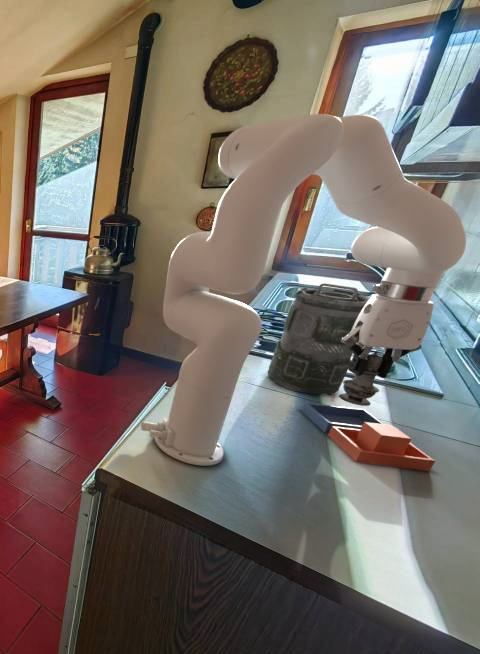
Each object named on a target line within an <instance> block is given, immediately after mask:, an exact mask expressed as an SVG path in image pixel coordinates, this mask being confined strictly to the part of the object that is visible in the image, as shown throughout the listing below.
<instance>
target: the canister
mask: <svg viewBox="0 0 480 654" xmlns="http://www.w3.org/2000/svg"><path fill="white" fill-rule="evenodd" d="M323 287H328V288H336V289H332V290H331V289H322V288H323ZM341 289H343V290H341ZM347 290H348V291H347ZM350 290H351V291H350ZM352 291H353V292H352ZM294 297H295V299H294V301H293V302H292V303H291V305H290V307H289V309H288V313H287V315H286V319H285V322H284V323H283V324H284V325H283V332H282V334H281V338H280V339H279V340H277V343H276V346H275V349H274V352H273V354H272V358H271V361H270V362H269V365H268V369H267V376H268V377H269V378H270V379H272V380H274V381H275V382H276V384H277V385H278V386H280V387H282V388H285V389H288V390H290V391H294V392H297V393H301V392H303V393H307V394H312V395H313V394H314V395H327V396H332V395H335V394H336V393H338V392H339V390H340V389H341V385H342V384H343V381H344V380H345V377H346V375H347V373H348V371H349V365H350V363H351V361H352V357H353V355H354V354H353V353H352V351H351V350H350V348H349V347H348V346H347V345H345V344H344V343H342V342H341V339H342V338H344V337H345V336H346V335H347V334H349V333H350V332H351V330H352V328H353V325H354V323H355V321H356V319H357V317H358V316H359V314H360V312H361V310H362V309H363V307H364V306H365V304H366V303H367V301H368V300H369V299H370V297H366V296H363V295H361V294H360V293H359V290H358V288H357V287H352V286H345V285H339V284H331V283H320V284H319V285H318V288H307V287H304V288H300V289H298V290H297V291H296V292H295V293H294ZM358 341H359V340H355V341H354V342H355V343H356V344H357V342H358Z"/></svg>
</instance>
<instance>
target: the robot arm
mask: <svg viewBox="0 0 480 654" xmlns="http://www.w3.org/2000/svg"><path fill="white" fill-rule="evenodd" d="M217 161H218V167H219V169H220V171H221V173H223V174H224V175H225V176H227V177H228V178H231V179H234V180H233V181H232V182H231V183H230V184H229V186H228V187H227V189H226V190H225V191H224V192H223V194H222V196H221V198H220V199H219V202H218V204H217V208H216V211H215V216H214V219H213V224H212V229H211V232H210V231H197V232H194V233H191V234H189V235H187V236H185V237H184V238H183V239H182V240H180V241H179V243H178V244H177V245H176V247H175V248H174V250H173V251H172V254H171V256H170V259H169V263H168V267H167V275H166V283H165V290H164V297H163V305H162V318H163V322H164V324H165V325H166V327H167V328H168V329H169V330H170V331H172V332H173V333H175V334H177V335H179V336H181V337H183V338H185V339H188V340H189V341H191V342H193V343H195V345H196V346H195V348H194V350H193V351H192V352H190V353H189V354H188V355H187V356H186V357H185V358H184V360H183V361H182V364H181V366H180V368H179V372H178V373H179V374H178V378H177V382H176V385H175V389H174V394H173V398H172V402H171V404H170V405H171V406H170V410H169V414H168V416H167V417H168V418H167V417H163V418H162V421H161V422H157V423H156V422H155V423H154V422H150V421H141V423H140V430H141V431H143V432H149V433H148V434H149V437H150V438H154V441H155V444H156V445H157V446H158V448H159V449H161V451H163V452H164V453H165V454H166V455H168V456H170V457H172V458H173V459H176V460H178V461H180V462H183V463H186V464H189V465H193V466H201V467H202V466H203V467H204V466H205V467H206V466H207V467H208V466H214V465H217V464H219V463H221V461H222V460H223V458H224V455H225V451H224V448H223V446H222V445H221V444H220V443H219V440H220V436H221V434H222V430H223V428H224V424H225V421H226V418H227V415H228V412H229V408H230V405H231V403H232V399H233V396H234V393H235V389H236V387H237V383H238V380H239V377H240V374H241V372H242V369H243V367H244V364H245V362H246V360H247V358H248V356H249V354H250V353H251V351H252V349H253V347H254V346H255V345H256V342H257V341H258V339H259V337H260V335H261V333H262V328H263V323H262V322H263V321H262V318H261V317H260V315H259V313H258V312H257V311H256V310H254V308H252V307H251V306H249V305H247V304H245V303H243V302H241V301H238V300H235V299H232V298H228V297H226V296H223V295H219V294H215V293H212V292H210V290H213V291H216V292H221V293H225V294H229V295H230V294H231V295H242V294H246V293H249V292H251V291H253V290H255V288H257V286H258V285H259V283H260V282H261V281H262V278H263V275H264V273H265V269H266V265H267V261H268V257H269V254H270V249H271V244H272V240H273V236H274V234H275V233H274V232H275V228H276V224H277V221H278V219H279V214H280V211H281V209H282V208H283V205H284V203H286V200H287V199H288V198H289V196H290V195H291V194H292V193H293V192H294V191H295V190H296V189H297V187H299V186H300V185H301V184H302V183H303V182H304V181H305V180H306V179H308V178H309V177H310V176H311V175H314V176H315V175H316V176H318V177H320V179H321V180H322V182H323V184H324V185H325V188H326V189H327V191H328V193H329V194H330V196H331V198H332V200H333V203H334V205H335V207H336V208H337V210H338V211H339V212H340V213H341V214H343V215H345V216H347V217H349V218H351V219H353V220H356V221H358V222H361V223H364V224H366V225H370V226H373V227H370V228H368V229H365V230H364V231H362V232H361V233H360V234H358V235H357V236H356V237H355V239H354V240H353V242H352V244H351V247H350V253H351V256H352V258H353V259H354V260H356V262H358V263H361V264H363V265H366V266H371V267H377V268H384V269H386V270H385V272H384V273H383V277H382V278H381V281H380V282H379V283H378V284H374V285H372V288H371V291H372V292H375V294H372V295H371V296H370V297H369V300H368V301H367V303H366V304H365V306H364V307H363V309H362V310H361V312H360V314H359V316H358V317H357V319H356V321H355V323H354V325H353V328H352V330H351V332H350V333H349V334H347V335H346V336H345V337H344V338H342V339H341V342H342V343H344V344H345V345H347V346H348V347H349V348H350V350H351V351H352V353H353V354H352V357H351V363H350V365H349V368H348V371H349V372H350V373H352V374H354V376H355V375H357V376H361V375H362V374H363V372H364V369H365V367H366V365H367V363H368V359H366V357H367V356H368V354H371V351H372V350H373V348H379V349H380V348H382V349H383V352H382V355H379V356H380V357H381V358H382V359H383V360H382V363H381V365H380V367H379V369H378V372H379V374H376V376H377V377H379V378H380V379H386V377H387V376H388V374H389V373H390V370H391V369H392V367H393V364H394V362H398V361H399V360H400V359H401V358H402V357H405V356H407V355H408V354H410V353H413V352H416V351H420V350H421V349H422V342H423V340H424V338H425V336H426V334H427V331H428V328H429V326H430V323H431V319H432V315H433V310H434V302H433V301H431V298H432V296H433V294H434V292H435V291H436V288H437V286H438V284H439V283H440V280H441V278H442V276H443V274H444V273H445V272H446V271H448V270H450V269H451V268H453V267H454V266H455V265H457V264H458V263H459V262H460V261H461V259H462V257H463V256H464V254H465V251H466V248H467V247H466V246H467V238H466V232H465V227H464V226H463V222H462V219H461V217H460V215H459V214H458V212H457V211H456V210H455V209H454V208H453V207H452V206H451V205H450V204H449V203H448V202H446V200H445V201H444V200H443V199H442V198H441V197H438V196H437V195H435V194H433V193H431V191H428V190H426V189H425V188H423V187H421V186H419V185H417V184H416V183H414V182H411V181H409V180H407V179H406V178H405V176H404V174H403V170H402V168H401V166H400V164H399V161H398V159H397V156H396V154H395V152H394V149H393V147H392V144H391V142H390V139H389V137H388V134H387V132H386V129H385V128H384V126H383V124H382V122H381V121H380V120H379V119H378V118H376V117H374V116H372V115H368V114H353V115H345V116H336V115H333V114H328V113H312V114H304V115H303V114H302V115H297V116H290V117H285V118H280V119H274V120H269V121H261V122H256V123H251V124H246V125H243V126H240V127H239V128H237V129H235V130H234V131H232V132H231V133H230V134H229V135H228V136H227V137H226V138H225V139H224V141H223V142H222V144H221V146H220V148H219V151H218V158H217ZM355 340H359V341H358V342H357V344H356V343H355V342H354V341H355Z"/></svg>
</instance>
